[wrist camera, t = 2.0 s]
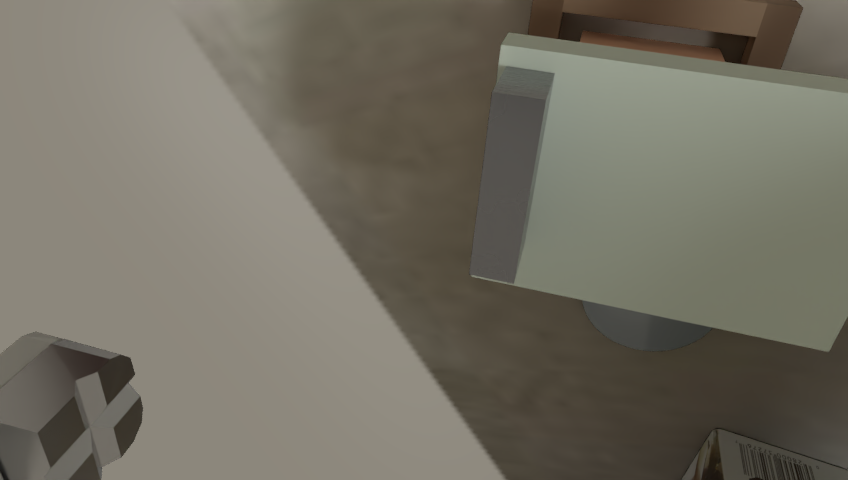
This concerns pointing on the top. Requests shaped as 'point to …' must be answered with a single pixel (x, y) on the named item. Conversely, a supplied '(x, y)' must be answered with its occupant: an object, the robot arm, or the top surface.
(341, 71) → the top surface
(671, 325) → the slate coaster
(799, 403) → the top surface
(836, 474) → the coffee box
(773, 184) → the sliding lid
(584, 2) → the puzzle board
